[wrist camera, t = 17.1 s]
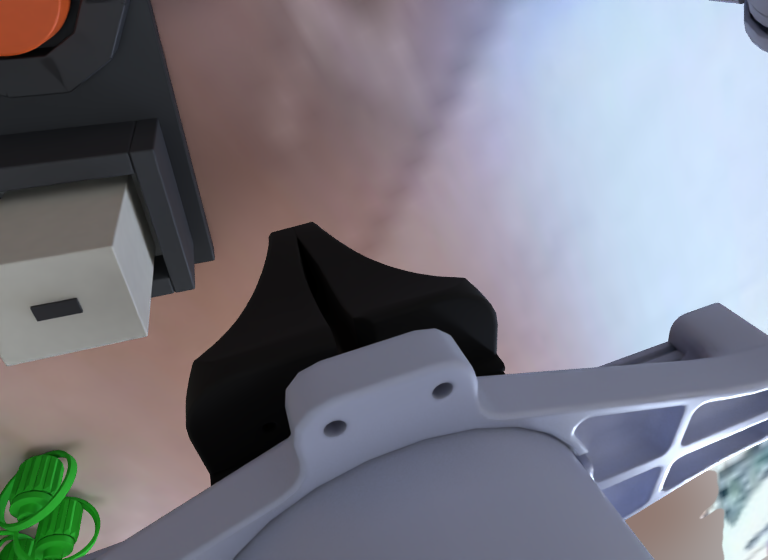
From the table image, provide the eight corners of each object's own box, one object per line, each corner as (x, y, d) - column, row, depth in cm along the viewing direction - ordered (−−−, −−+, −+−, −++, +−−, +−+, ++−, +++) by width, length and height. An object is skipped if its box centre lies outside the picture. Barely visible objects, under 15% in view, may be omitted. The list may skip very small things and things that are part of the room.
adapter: (103, -184, 16) (89, -207, 13) (214, 248, 25) (217, 280, 22) (-214, -195, 13) (-297, -224, 11) (35, 280, 23) (18, 319, 20)
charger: (129, 169, 18) (112, 247, 14) (155, 246, 20) (148, 338, 16) (8, 185, 17) (-56, 276, 13) (48, 265, 19) (5, 369, 15)
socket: (159, 109, 20) (153, 149, 17) (193, 233, 24) (195, 289, 20) (-21, 129, 19) (-73, 177, 15) (44, 258, 22) (14, 325, 18)
